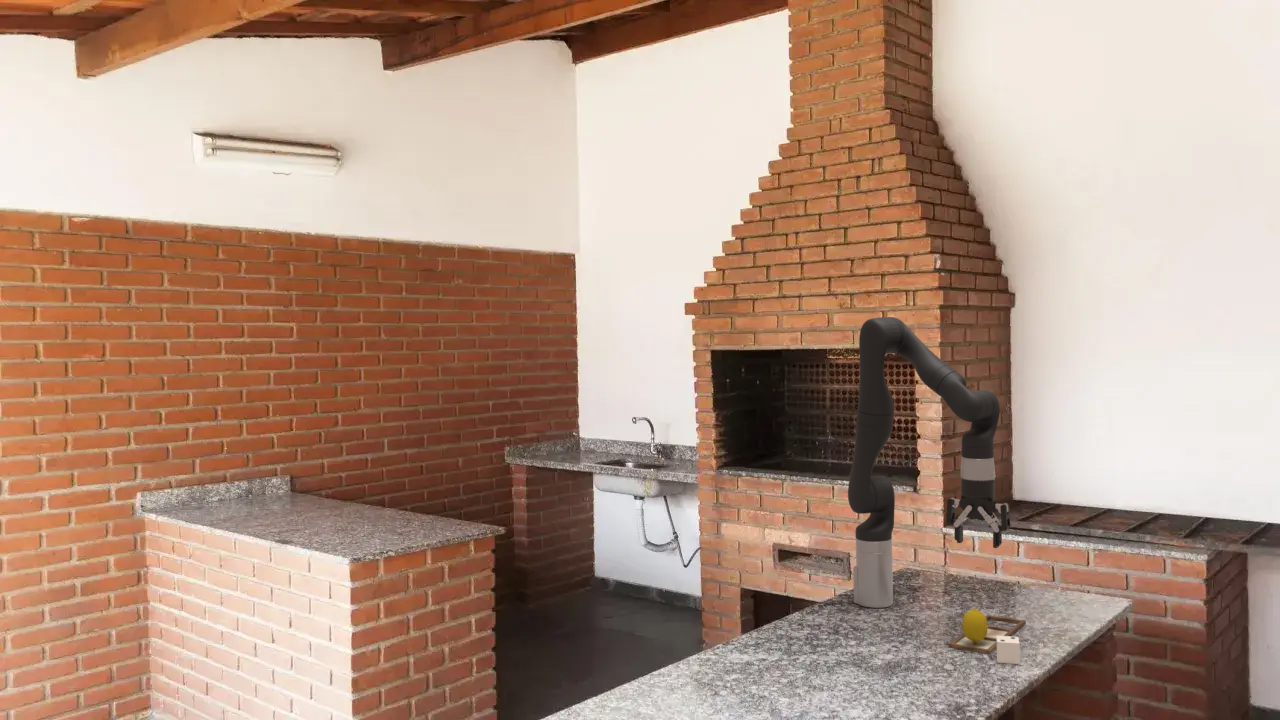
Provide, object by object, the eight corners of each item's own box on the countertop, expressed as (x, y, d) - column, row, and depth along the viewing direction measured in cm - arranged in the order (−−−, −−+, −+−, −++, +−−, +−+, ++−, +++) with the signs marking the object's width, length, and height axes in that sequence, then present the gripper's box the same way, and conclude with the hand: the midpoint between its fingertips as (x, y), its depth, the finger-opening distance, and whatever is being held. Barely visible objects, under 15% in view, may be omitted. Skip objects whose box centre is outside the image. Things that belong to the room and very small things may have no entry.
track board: (948, 647, 224) (948, 643, 224) (987, 617, 244) (987, 614, 244) (989, 654, 218) (989, 650, 218) (1025, 623, 239) (1025, 620, 239)
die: (997, 662, 213) (997, 641, 213) (996, 655, 217) (996, 635, 217) (1019, 664, 211) (1019, 643, 211) (1018, 657, 216) (1018, 636, 216)
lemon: (985, 639, 227) (984, 605, 227) (990, 647, 222) (990, 612, 221) (960, 639, 228) (959, 605, 228) (965, 647, 222) (964, 611, 222)
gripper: (941, 475, 232) (942, 544, 233) (1003, 481, 223) (1003, 552, 224) (953, 471, 238) (954, 538, 239) (1014, 476, 229) (1014, 545, 230)
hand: (978, 545), depth 232 cm, fingers open, 8 cm apart
